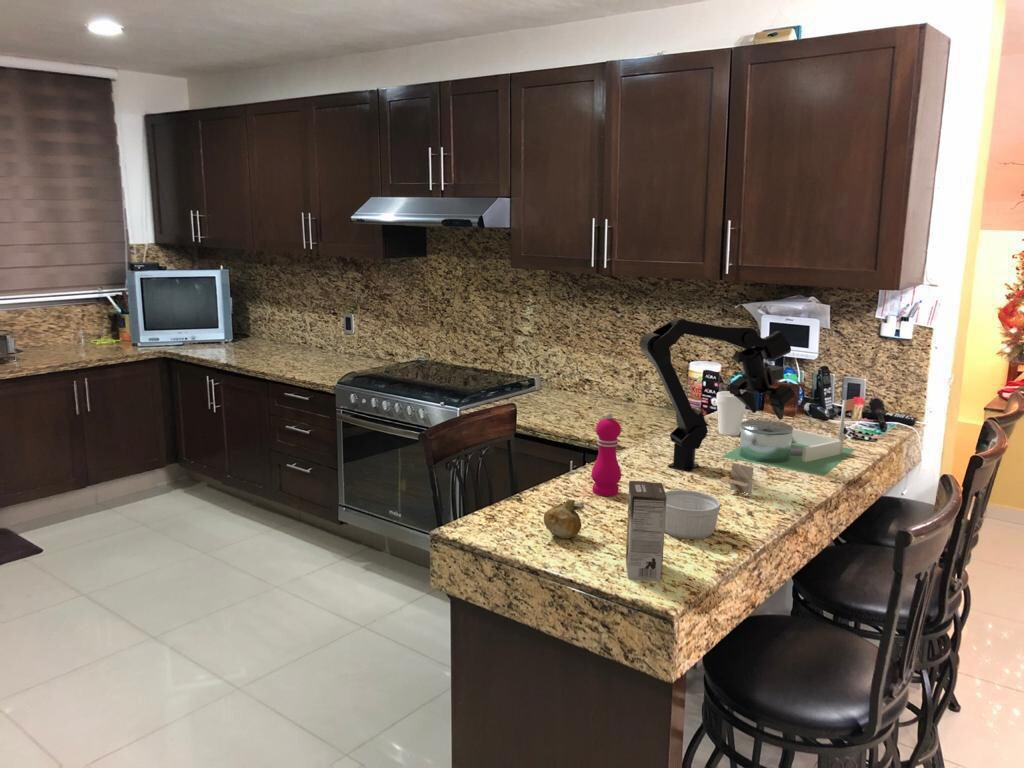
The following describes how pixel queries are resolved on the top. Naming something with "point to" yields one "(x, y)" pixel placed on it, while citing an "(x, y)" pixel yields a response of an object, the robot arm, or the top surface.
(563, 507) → the onion
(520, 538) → the top surface
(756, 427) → the chrome metal canister
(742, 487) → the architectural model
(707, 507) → the ramekin
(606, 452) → the pepper mill
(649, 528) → the coffee box
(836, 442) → the beige thin-walled piece
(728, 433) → the foam cup
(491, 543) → the top surface
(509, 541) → the top surface
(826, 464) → the green mat
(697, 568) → the top surface
